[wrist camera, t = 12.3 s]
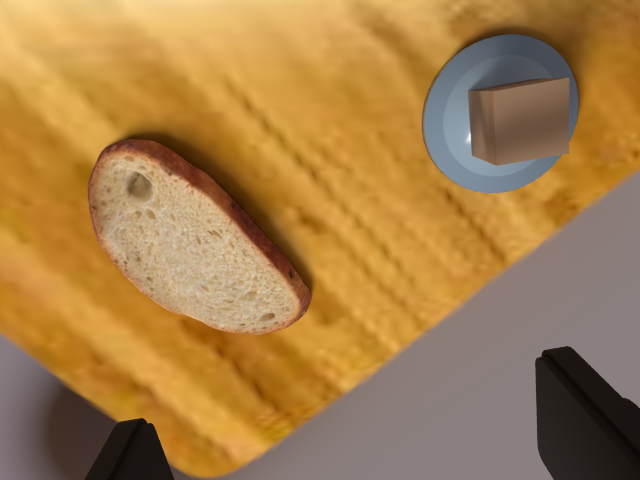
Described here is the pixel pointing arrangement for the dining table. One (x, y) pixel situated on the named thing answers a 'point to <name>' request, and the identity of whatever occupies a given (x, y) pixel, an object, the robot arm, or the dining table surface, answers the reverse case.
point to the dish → (453, 108)
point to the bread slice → (190, 242)
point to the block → (520, 120)
